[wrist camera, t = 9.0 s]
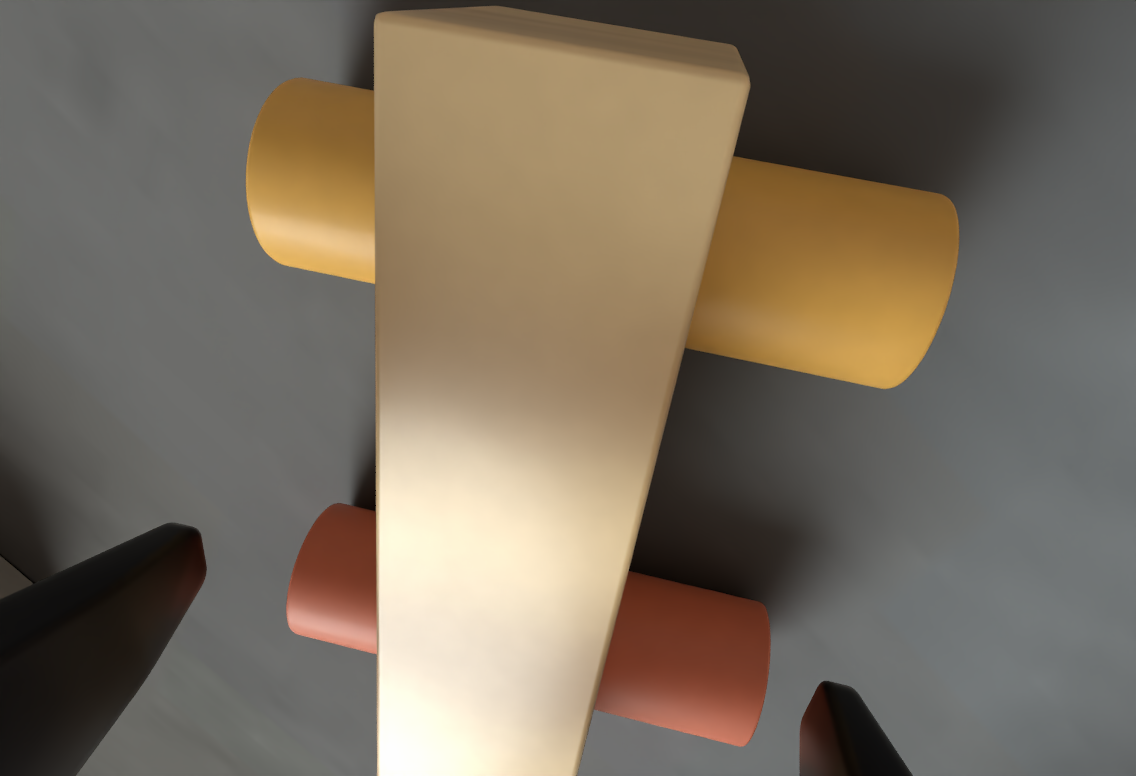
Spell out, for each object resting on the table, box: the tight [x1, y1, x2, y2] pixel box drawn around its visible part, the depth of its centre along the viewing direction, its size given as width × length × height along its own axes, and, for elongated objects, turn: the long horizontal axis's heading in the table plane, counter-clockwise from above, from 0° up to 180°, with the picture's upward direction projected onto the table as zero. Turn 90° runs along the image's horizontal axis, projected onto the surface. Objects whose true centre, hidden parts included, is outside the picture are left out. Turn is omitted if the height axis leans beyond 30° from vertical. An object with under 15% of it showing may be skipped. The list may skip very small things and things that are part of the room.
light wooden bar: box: [374, 6, 750, 776], centre depth 11 cm, size 15×3×4 cm, turn 172°
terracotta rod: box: [286, 503, 771, 746], centre depth 16 cm, size 3×10×3 cm, turn 82°
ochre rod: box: [246, 78, 959, 389], centre depth 11 cm, size 3×10×3 cm, turn 82°
